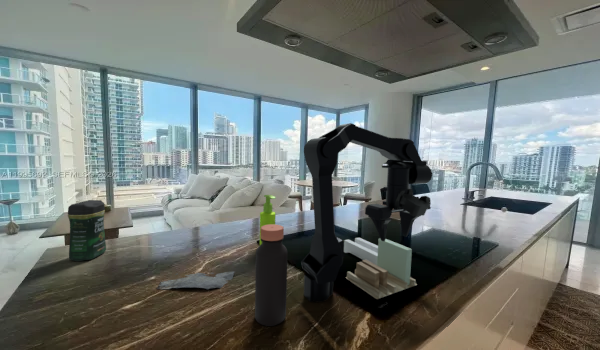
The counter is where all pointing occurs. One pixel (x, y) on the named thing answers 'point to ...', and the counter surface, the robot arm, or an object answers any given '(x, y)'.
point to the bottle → (271, 276)
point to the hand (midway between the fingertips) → (394, 238)
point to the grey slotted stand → (362, 249)
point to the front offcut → (368, 274)
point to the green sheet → (395, 259)
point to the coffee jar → (86, 230)
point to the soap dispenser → (267, 214)
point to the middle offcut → (383, 273)
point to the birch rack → (392, 285)
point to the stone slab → (198, 281)
